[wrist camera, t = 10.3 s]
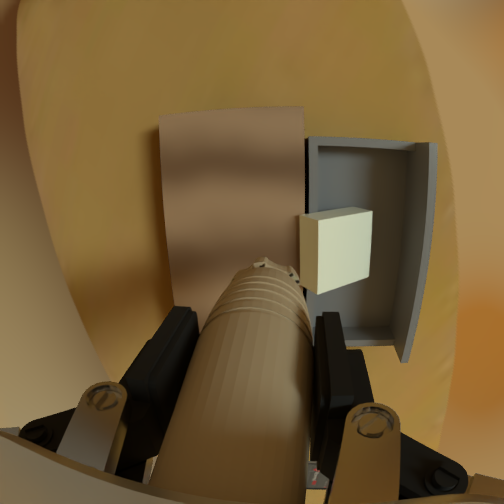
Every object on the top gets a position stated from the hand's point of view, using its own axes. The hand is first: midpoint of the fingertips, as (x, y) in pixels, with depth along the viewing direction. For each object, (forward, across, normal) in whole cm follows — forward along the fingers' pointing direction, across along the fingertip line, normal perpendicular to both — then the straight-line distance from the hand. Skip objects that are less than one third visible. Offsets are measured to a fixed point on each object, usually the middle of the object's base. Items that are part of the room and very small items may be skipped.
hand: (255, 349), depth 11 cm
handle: (+6, 0, 0) cm, 6 cm away
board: (+15, +3, +1) cm, 16 cm away
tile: (+14, -4, +1) cm, 14 cm away
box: (+15, -6, +1) cm, 17 cm away
